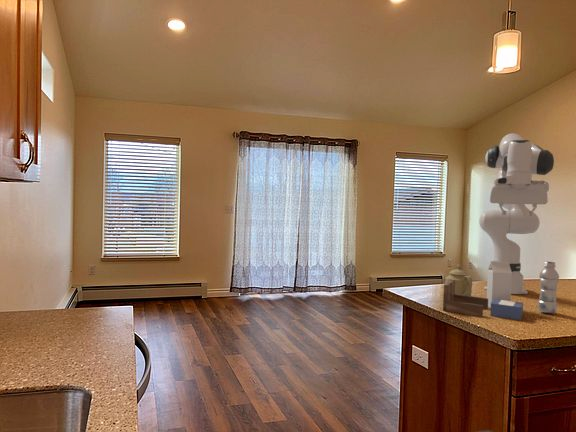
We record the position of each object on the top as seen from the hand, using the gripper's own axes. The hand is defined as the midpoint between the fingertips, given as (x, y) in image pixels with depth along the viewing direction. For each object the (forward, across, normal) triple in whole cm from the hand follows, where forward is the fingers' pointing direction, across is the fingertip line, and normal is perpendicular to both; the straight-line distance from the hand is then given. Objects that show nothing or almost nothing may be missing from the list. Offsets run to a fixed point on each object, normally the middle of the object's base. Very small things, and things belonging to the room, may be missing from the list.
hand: (517, 215), depth 174 cm
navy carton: (+38, +3, +9) cm, 39 cm away
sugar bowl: (+38, +20, -16) cm, 45 cm away
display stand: (+38, +16, +7) cm, 42 cm away
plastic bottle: (+38, -12, -4) cm, 40 cm away
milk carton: (+38, +5, -3) cm, 38 cm away
